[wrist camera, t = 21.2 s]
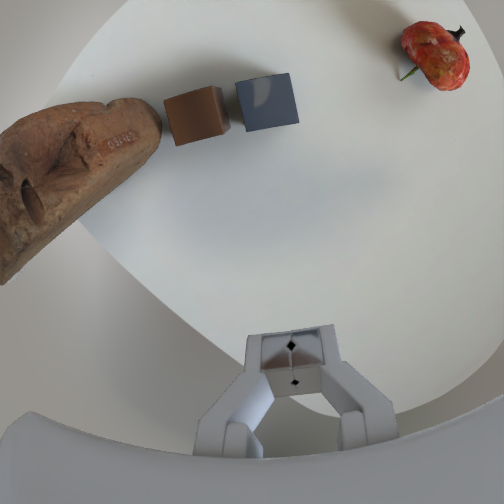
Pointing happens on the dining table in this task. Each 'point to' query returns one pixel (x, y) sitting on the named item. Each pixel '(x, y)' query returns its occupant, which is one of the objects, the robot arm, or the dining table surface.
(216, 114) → the walnut cube
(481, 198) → the dining table surface
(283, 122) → the slate cube
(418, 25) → the pomegranate
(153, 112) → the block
